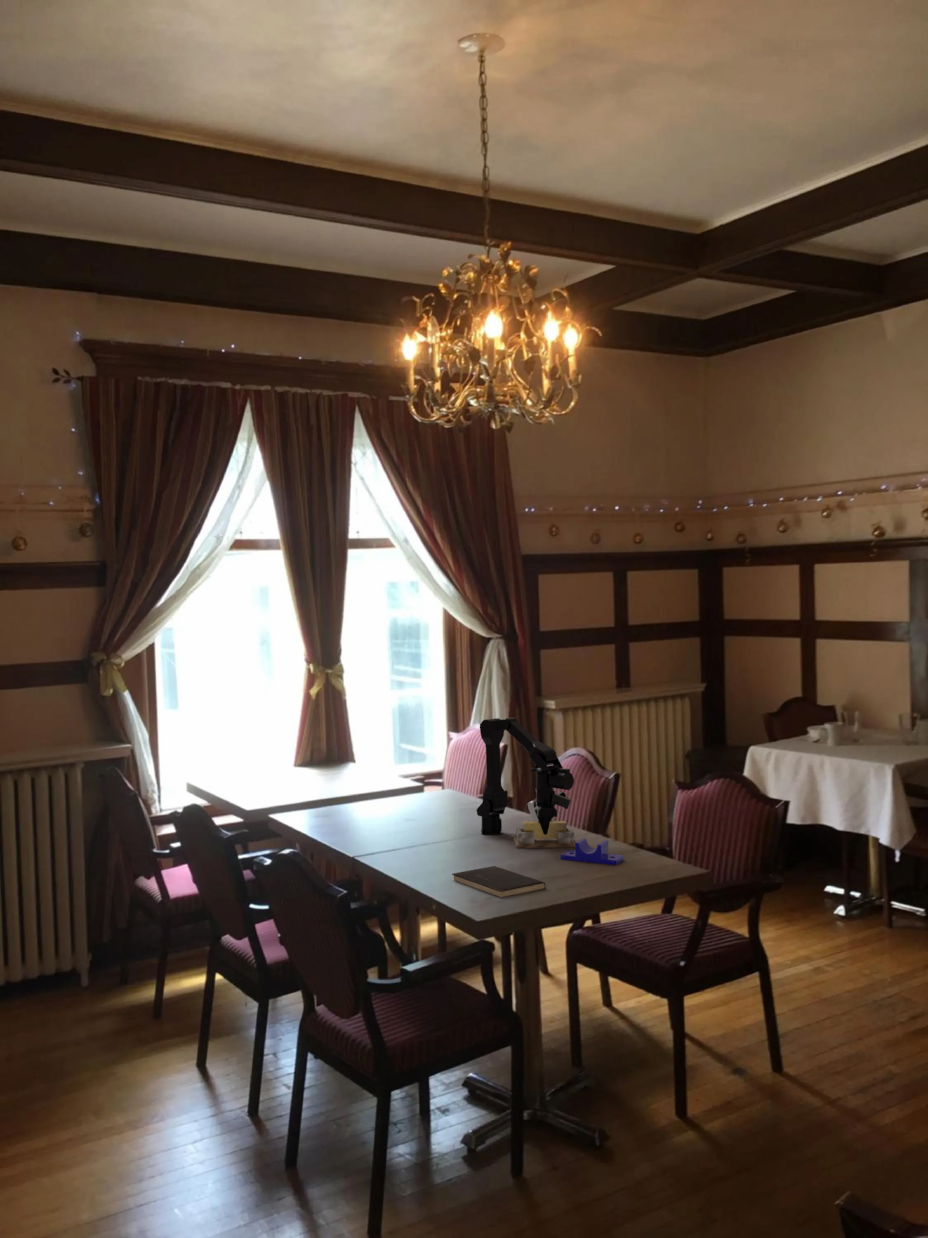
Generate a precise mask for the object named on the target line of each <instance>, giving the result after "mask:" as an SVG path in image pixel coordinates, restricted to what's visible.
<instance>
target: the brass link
mask: <svg viewBox="0 0 928 1238" xmlns="http://www.w3.org/2000/svg"><path fill="white" fill-rule="evenodd" d="M567 827H568V822H566V820H555V821H550V824H549V828H548V833H547V835H544V834H543V831H542V828H541V825H540V823H539V821H534V820H524V821H523V828H524V832H534V838H558V832H567Z"/></svg>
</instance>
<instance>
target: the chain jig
mask: <svg viewBox="0 0 928 1238" xmlns="http://www.w3.org/2000/svg"><path fill="white" fill-rule="evenodd" d="M515 834H516V837H513V843H514V845H515V848H516V849H528V848H534V849H537V848H538V849H539V848H547V849H548V848H575V843H576V842H577V841H576V840H575V831H574V830H573V828H572V827H571V826H567V832H558V838H534V832H524V827H516V828H515Z"/></svg>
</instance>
